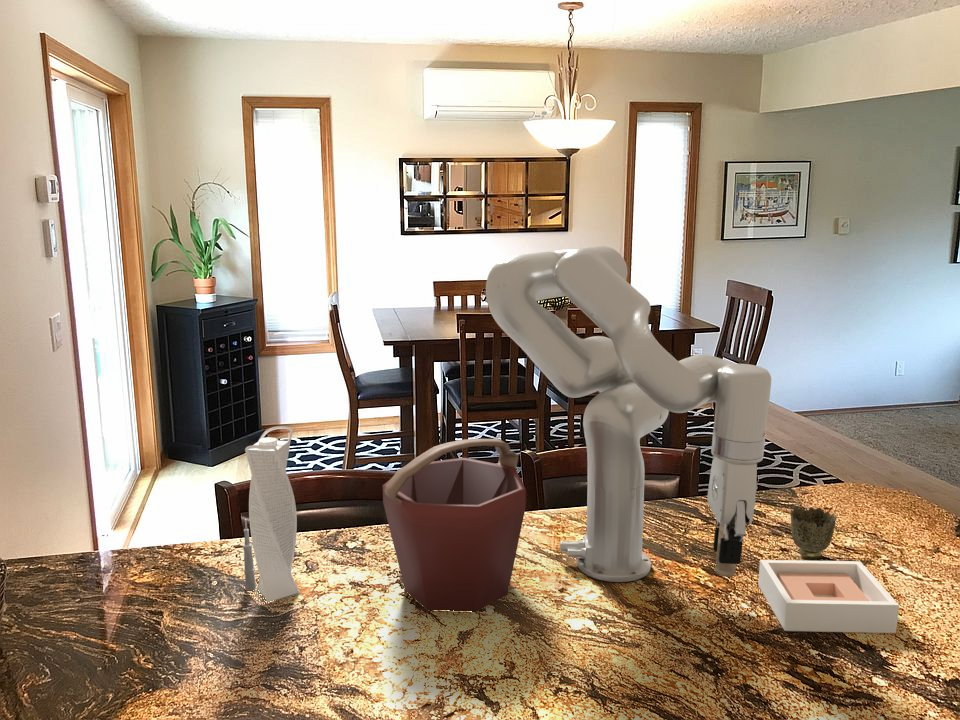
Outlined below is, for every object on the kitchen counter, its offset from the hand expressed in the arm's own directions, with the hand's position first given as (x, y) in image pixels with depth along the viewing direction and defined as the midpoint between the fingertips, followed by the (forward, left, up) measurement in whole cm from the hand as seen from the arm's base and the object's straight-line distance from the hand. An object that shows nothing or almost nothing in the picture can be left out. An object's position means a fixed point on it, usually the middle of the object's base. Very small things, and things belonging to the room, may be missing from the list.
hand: (726, 556), depth 126 cm
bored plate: (+15, -2, -8) cm, 17 cm away
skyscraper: (-72, 0, -8) cm, 73 cm away
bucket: (-42, +2, -8) cm, 43 cm away
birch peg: (0, 0, -3) cm, 3 cm away
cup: (+19, +16, -8) cm, 26 cm away
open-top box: (+15, -2, -8) cm, 17 cm away
